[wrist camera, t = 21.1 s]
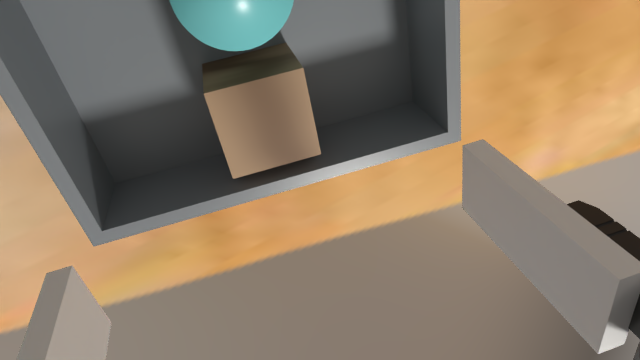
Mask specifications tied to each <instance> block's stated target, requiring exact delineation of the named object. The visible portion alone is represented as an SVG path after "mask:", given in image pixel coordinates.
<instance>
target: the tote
mask: <svg viewBox="0 0 640 360" xmlns="http://www.w3.org/2000/svg"><path fill="white" fill-rule="evenodd" d="M282 43H287V45H288V46H289V48H290V49H291V50H292V52H293V53H294V55H295V56H296V58H297V59H298V61H299V62H300V64H301V65H302V67H303V68H304V73H305V78H306V83H307V88H308V93H309V97H310V102H311V107H312V112H313V117H314V121H315V126H316V131H317V136H318V141H319V146H320V150H321V154H320V155H317V156H313V157H310V158H306V159H302V160H299V161H295V162H292V163H288V164H285V165H281V166H278V167H274V168H270V169H267V170H263V171H260V172H256V173H253V174H249V175H246V176H242V177H239V178H235V179H233V177H232V175H231V172H230V169H229V166H228V163H227V160H226V157H225V154H224V151H223V149H222V146H221V143H220V140H219V137H218V134H217V131H216V128H215V125H214V123H213V120H212V117H211V114H210V111H209V108H208V105H207V102H206V99H205V96H204V93H203V73H202V64H203V63H207V62H211V61H215V60H219V59H223V58H227V57H231V56H235V55H239V54H243V53H247V52H251V51H255V50H259V49H263V48H266V47H270V46H274V45H278V44H282ZM0 95H1V96H2V98H3V100H4V101H5V103H6V105H7V106H8V108H9V109H10V111H11V113H12V114H13V116H14V118H15V119H16V121H17V123H18V124H19V126H20V127H21V129H22V131H23V132H24V134H25V136H26V137H27V139H28V140H29V142H30V144H31V145H32V147H33V149H34V150H35V152H36V153H37V155H38V157H39V158H40V160H41V162H42V163H43V165H44V166H45V168H46V170H47V171H48V173H49V175H50V176H51V178H52V179H53V181H54V183H55V184H56V186H57V188H58V189H59V191H60V192H61V194H62V196H63V197H64V199H65V201H66V202H67V204H68V205H69V207H70V209H71V210H72V212H73V214H74V215H75V217H76V219H77V220H78V222H79V223H80V225H81V227H82V228H83V230H84V232H85V233H86V235H87V236H88V238H89V240H90V241H91V243H92V245H93V246H97V245H101V244H104V243H108V242H111V241H115V240H118V239H122V238H125V237H129V236H132V235H135V234H139V233H142V232H146V231H149V230H153V229H156V228H160V227H163V226H167V225H170V224H174V223H177V222H180V221H184V220H187V219H191V218H194V217H198V216H201V215H205V214H208V213H212V212H215V211H219V210H222V209H226V208H229V207H232V206H236V205H239V204H243V203H246V202H250V201H253V200H257V199H260V198H264V197H267V196H271V195H274V194H277V193H281V192H284V191H288V190H291V189H295V188H298V187H302V186H305V185H309V184H312V183H316V182H319V181H322V180H326V179H329V178H333V177H336V176H340V175H343V174H347V173H350V172H354V171H357V170H361V169H364V168H368V167H371V166H374V165H378V164H381V163H385V162H388V161H392V160H395V159H399V158H402V157H406V156H409V155H413V154H416V153H419V152H423V151H426V150H430V149H433V148H437V147H440V146H444V145H447V144H451V143H454V142H458V141H461V88H460V0H294V2H293V6H292V9H291V12H290V15H289V17H288V19H287V21H286V22H285V24H284V25H283V27H282V28H281V29H280V31H279V32H278V33H277V34H276V35H275V36H274V37H273V38H272V39H270V40H269V41H267V42H266V43H264V44H262V45H260V46H258V47H255V48H253V49H249V50H244V51H226V50H220V49H217V48H214V47H211V46H209V45H207V44H205V43H203V42H201V41H200V40H198V39H197V38H196V37H194V36H193V35H192V34H191V33H190V32H189V31H188V30H187V29H186V28H185V27H184V26H183V25H182V23H181V22H180V21H179V19H178V18H177V16H176V14H175V13H174V11H173V8H172V6H171V4H170V0H0Z"/></svg>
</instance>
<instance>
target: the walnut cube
mask: <svg viewBox="0 0 640 360" xmlns="http://www.w3.org/2000/svg"><path fill="white" fill-rule="evenodd" d="M202 73H203V93H204V96H205V99H206V102H207V105H208V108H209V111H210V114H211V117H212V120H213V123H214V125H215V128H216V131H217V134H218V137H219V140H220V143H221V146H222V149H223V151H224V154H225V157H226V160H227V163H228V166H229V169H230V172H231V175H232V177H233V179H235V178H239V177H242V176H246V175H249V174H253V173H256V172H260V171H263V170H267V169H270V168H274V167H278V166H281V165H285V164H288V163H292V162H295V161H299V160H302V159H306V158H310V157H313V156H317V155H320V154H321V150H320V146H319V141H318V136H317V131H316V126H315V121H314V117H313V112H312V107H311V102H310V97H309V93H308V88H307V83H306V78H305V73H304V68H303V67H302V65H301V64H300V62H299V61H298V59H297V58H296V56H295V55H294V53H293V52H292V50H291V49H290V48H289V46H288V45H287V43H282V44H278V45H274V46H270V47H266V48H263V49H259V50H255V51H251V52H247V53H243V54H239V55H235V56H231V57H227V58H223V59H219V60H215V61H211V62H207V63H203V64H202Z"/></svg>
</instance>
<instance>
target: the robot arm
mask: <svg viewBox="0 0 640 360" xmlns="http://www.w3.org/2000/svg"><path fill="white" fill-rule="evenodd" d="M462 206H463V209H464V210H465V211H466V212H467V213H468V215H469V216H470V217H471V218H472V219H473V220H474V221H475V222H476V223H477V224H478V225H479V226H480V227H481V228H482V230H483V231H484V232H485V233H486V234H487V235H488V236H489V237H490V238H491V239H492V240H493V241H494V242H495V244H496V245H497V246H498V247H499V248H500V249H501V250H502V251H503V252H504V253H505V254H506V255H507V256H508V258H509V259H510V260H511V261H512V262H513V263H514V264H515V265H516V266H517V267H518V268H519V269H520V270H521V272H522V273H523V274H524V275H525V276H526V277H527V278H528V279H529V280H530V281H531V282H532V283H533V284H534V286H535V287H537V289H538V290H539V291H540V292H541V293H542V294H543V295H544V296H545V297H546V298H547V300H548V301H549V302H550V303H551V304H552V305H553V306H554V307H555V308H556V309H557V310H558V311H559V312H560V314H561V315H562V316H563V317H564V318H565V319H566V320H567V321H568V322H569V323H570V324H571V325H572V326H573V328H574V329H575V330H576V331H577V332H578V333H579V334H580V335H581V336H582V337H583V338H584V339H585V340H586V342H588V344H589V345H590V346H591V347H592V348H593V349H594V350H595V351H596V352H597V353H598V354H599V353H602V352H605V351H607V350H610V349H612V348H615V347H618V346H620V345H623V344H624V343H625V340H626V336H627V334H628V331H629V329H630V330H631V331H632V332H633V333H634V334H635V335H636V336H637V337H638V338H639V339H640V238H638V237H637V236H636V235H634V234H633V233H632V232H630V231H627V230H626V228H625V227H623V226H622V225H621V224H619V223H618V222H614V220H613V219H612V218H611V217H610V216H608V215H607V214H606V213H604V212H603V211H601V210H600V209H598V208H596V207H594V206H592V205H589V204H586V203H584V202H581V201H576V202H572V203H569V204H565V203H564V202H563V201H562V200H560V199H559V198H558V197H556V196H555V195H554V194H552V193H551V192H550V191H549V190H547V189H546V188H545V187H543V186H542V185H541V184H540V183H538V182H537V181H536V180H535V179H533V178H532V177H531V176H529V175H528V174H527V173H526V172H524V171H523V170H522V169H520V168H519V167H518V166H517V165H515V164H514V163H513V162H511V161H510V160H509V159H508V158H506V157H505V156H504V155H503V154H501V153H500V152H499V151H497V150H496V149H495V148H494V147H492V146H491V145H490V144H488V143H487V142H486V141H485V140H483V139H482V140H479V141H476V142H472V143H469V144H466V145H463V188H462ZM110 328H111V321H110V320H109V318H108V317H107V315H106V314H105V312H104V311H103V310H102V308H101V307H100V305H99V304H98V302H97V301H96V299H95V298H94V296H93V295H92V294H91V292H90V291H89V289H88V288H87V286H86V285H85V283H84V282H83V280H82V279H81V278H80V276H79V275H78V273H77V272H76V270H75V269H74V267H73V266H69V267H66V268H62V269H59V270H56V271H53V272H49V273H47V274H46V276H45V279H44V282H43V285H42V288H41V291H40V294H39V297H38V299H37V302H36V305H35V308H34V311H33V314H32V317H31V319H30V322H29V325H28V328H27V331H26V334H25V337H24V340H23V343H22V345H21V348H20V351H19V354H18V357H17V360H106V354H107V347H108V341H109V335H110ZM633 360H640V342H639V345H638V347H637V350H636V353H635V356H634V358H633Z"/></svg>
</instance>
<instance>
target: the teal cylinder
mask: <svg viewBox="0 0 640 360" xmlns="http://www.w3.org/2000/svg"><path fill="white" fill-rule="evenodd" d="M293 2H294V0H170V4H171V6H172V8H173V11H174V13H175V14H176V16H177V18H178V19H179V21H180V22H181V23H182V25H183V26H184V27H185V28H186V29H187V30H188V31H189V32H190V33H191V34H192V35H193V36H194V37H196V38H197V39H198V40H200V41H201V42H203V43H205V44H207V45H209V46H211V47H214V48H217V49H220V50H226V51H244V50H249V49H253V48H255V47H258V46H260V45H262V44H264V43H266V42H267V41H269V40H270V39H272V38H273V37H274V36H275V35H276V34H277V33H278V32H279V31H280V29H281V28H282V27H283V25H284V24H285V22H286V21H287V19H288V17H289V15H290V12H291V9H292V6H293Z"/></svg>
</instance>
